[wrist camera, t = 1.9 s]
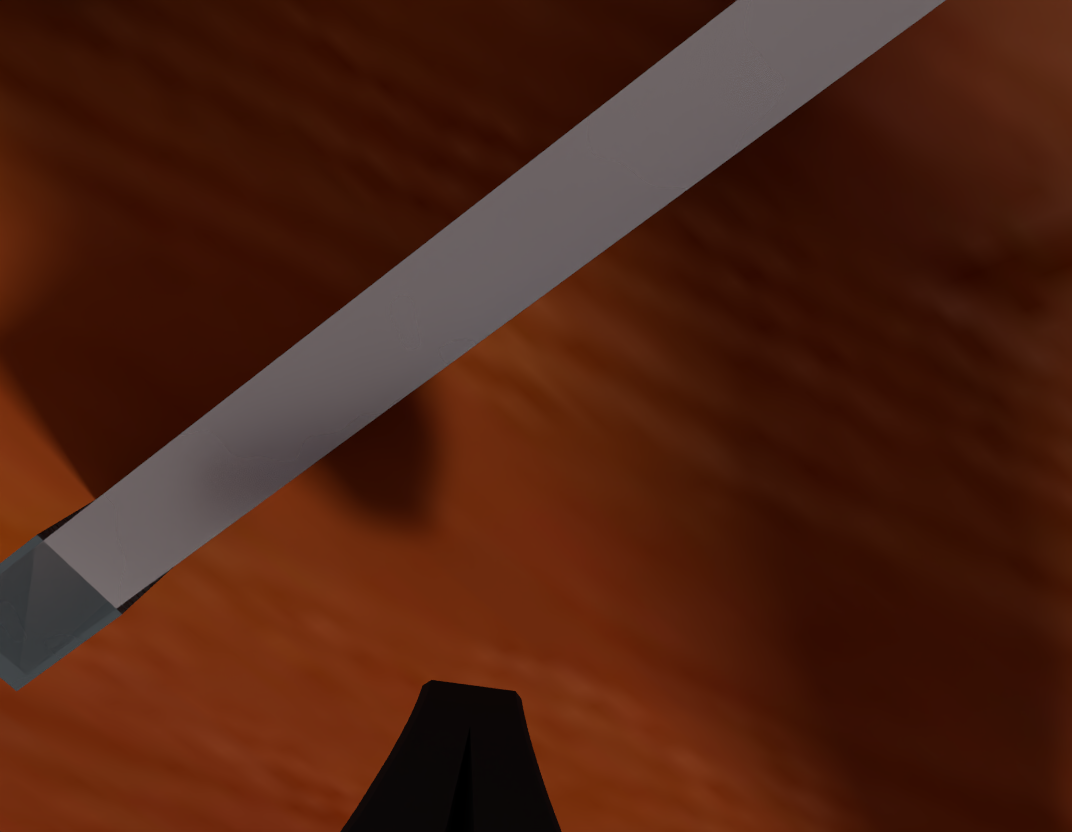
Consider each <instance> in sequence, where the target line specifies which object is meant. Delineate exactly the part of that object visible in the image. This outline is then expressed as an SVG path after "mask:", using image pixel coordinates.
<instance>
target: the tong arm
mask: <svg viewBox="0 0 1072 832" xmlns="http://www.w3.org/2000/svg"><path fill="white" fill-rule="evenodd" d="M944 1H945V0H737V1H736V2H734V3H733V4H732V5H730V6H729V7H728V8H727V9H725V10H724V11H723V12H721V13H720V14H719V15H718V16H716V17H715V18H714V19H712V20H711V21H710V22H709V23H707V24H706V25H705V26H704V27H702V28H701V29H700V30H698V31H697V32H696V33H695V34H693V35H692V36H691V37H689V38H688V39H687V40H686V41H684V42H683V43H682V44H680V45H679V46H678V47H677V48H675V49H674V50H673V51H671V52H670V53H669V54H668V55H666V56H665V57H664V58H662V59H661V60H660V61H659V62H657V63H656V64H655V65H653V66H652V67H651V68H650V69H648V70H647V71H646V72H644V73H643V74H642V75H641V76H639V77H638V78H637V79H635V80H634V81H633V82H632V83H630V84H629V85H628V86H626V87H625V88H624V89H623V90H621V91H620V92H619V93H617V94H616V95H615V96H614V97H612V98H611V99H610V100H608V101H607V102H606V103H605V104H603V105H602V106H601V107H600V108H598V109H597V110H596V111H594V112H593V113H592V114H591V115H589V116H588V117H587V118H585V119H584V120H583V121H582V122H580V123H579V124H578V125H576V126H575V127H574V128H573V129H571V130H570V131H569V132H567V133H566V134H565V135H564V136H562V137H561V138H560V139H558V140H557V141H556V142H555V143H553V144H552V145H551V146H549V147H548V148H547V149H546V150H544V151H543V152H542V153H540V154H539V155H538V156H537V157H535V158H534V159H533V160H531V161H530V162H529V163H528V164H526V165H525V166H524V167H522V168H521V169H520V170H519V171H517V172H516V173H515V174H513V175H512V176H511V177H510V178H508V179H507V180H506V181H505V182H503V183H502V184H501V185H499V186H498V187H497V188H496V189H494V190H493V191H492V192H490V193H489V194H488V195H487V196H485V197H484V198H483V199H481V200H480V201H479V202H478V203H476V204H475V205H474V206H472V207H471V208H470V209H469V210H467V211H466V212H465V213H463V214H462V215H461V216H460V217H458V218H457V219H456V220H454V221H453V222H452V223H451V224H449V225H448V226H447V227H445V228H444V229H443V230H442V231H440V232H439V233H438V234H436V235H435V236H434V237H433V238H431V239H430V240H429V241H427V242H426V243H425V244H424V245H422V246H421V247H420V248H418V249H417V250H416V251H415V252H413V253H412V254H411V255H409V256H408V257H407V258H406V259H404V260H403V261H402V262H401V263H399V264H398V265H397V266H395V267H394V268H393V269H392V270H390V271H389V272H388V273H386V274H385V275H384V276H383V277H381V278H380V279H379V280H377V281H376V282H375V283H374V284H372V285H371V286H370V287H368V288H367V289H366V290H365V291H363V292H362V293H361V294H359V295H358V296H357V297H356V298H354V299H353V300H352V301H350V302H349V303H348V304H347V305H345V306H344V307H343V308H341V309H340V310H339V311H338V312H336V313H335V314H334V315H332V316H331V317H330V318H329V319H327V320H326V321H325V322H323V323H322V324H321V325H320V326H318V327H317V328H316V329H314V330H313V331H312V332H311V333H309V334H308V335H307V336H305V337H304V338H303V339H302V340H300V341H299V342H298V343H297V344H295V345H294V346H293V347H291V348H290V349H289V350H288V351H286V352H285V353H284V354H282V355H281V356H280V357H279V358H277V359H276V360H275V361H273V362H272V363H271V364H270V365H268V366H267V367H266V368H264V369H263V370H262V371H261V372H259V373H258V374H257V375H255V376H254V377H253V378H252V379H250V380H249V381H248V382H246V383H245V384H244V385H243V386H241V387H240V388H239V389H237V390H236V391H235V392H234V393H232V394H231V395H230V396H228V397H227V398H226V399H225V400H223V401H222V402H221V403H219V404H218V405H217V406H216V407H214V408H213V409H212V410H210V411H209V412H208V413H207V414H205V415H204V416H203V417H202V418H200V419H199V420H198V421H196V422H195V423H194V424H193V425H191V426H190V427H189V428H187V429H186V430H185V431H184V432H182V433H181V434H180V435H178V436H177V437H176V438H175V439H173V440H172V441H171V442H169V443H168V444H167V445H166V446H164V447H163V448H162V449H160V450H159V451H158V452H157V453H155V454H154V455H153V456H151V457H150V458H149V459H148V460H146V461H145V462H144V463H142V464H141V465H140V466H139V467H137V468H136V469H135V470H133V471H132V472H131V473H130V474H128V475H127V476H126V477H124V478H123V479H122V480H121V481H119V482H118V483H117V484H115V485H114V486H113V487H112V488H110V489H109V490H108V491H106V492H105V493H104V494H103V495H101V496H100V497H99V498H98V499H96V500H94V501H93V502H91V503H89V504H88V505H86V506H84V507H83V508H81V509H79V510H78V511H76V512H74V513H73V514H71V515H69V516H68V517H66V518H64V519H63V520H61V521H59V522H58V523H56V524H54V525H53V526H51V527H49V528H48V529H46V530H44V531H43V532H41V533H39V534H37V535H36V536H35V537H34V538H32V539H31V540H30V541H28V542H27V543H26V544H25V545H23V546H22V547H21V548H20V549H18V550H17V551H16V552H14V553H13V554H12V555H11V556H9V557H8V558H7V559H5V560H4V561H3V562H2V563H0V677H1V678H2V679H3V680H4V681H5V682H6V683H8V684H9V685H10V686H11V687H12V688H14V689H15V690H16V691H17V690H19V689H20V688H22V687H23V686H24V685H26V684H27V683H28V682H30V681H31V680H33V679H34V678H35V677H37V676H38V675H39V674H41V673H42V672H43V671H45V670H46V669H48V668H49V667H50V666H52V665H53V664H54V663H56V662H57V661H59V660H60V659H61V658H63V657H64V656H65V655H67V654H68V653H69V652H71V651H72V650H74V649H75V648H76V647H78V646H79V645H80V644H82V643H83V642H85V641H86V640H87V639H89V638H90V637H91V636H93V635H94V634H96V633H97V632H98V631H100V630H101V629H102V628H104V627H105V626H106V625H108V624H109V623H111V622H112V621H113V620H115V619H116V618H117V617H119V616H120V615H122V614H123V613H124V612H125V611H126V610H127V609H128V608H129V607H130V606H131V605H133V604H134V603H135V602H136V601H137V600H138V599H139V598H140V597H141V596H142V595H143V594H144V593H146V592H147V591H148V590H149V589H150V588H151V587H152V586H153V585H154V584H155V583H156V582H157V581H159V580H160V579H161V578H162V577H163V576H164V575H165V574H166V573H167V572H168V571H169V570H171V569H172V568H173V567H174V566H175V565H176V564H178V563H179V562H181V561H182V560H183V559H185V558H186V557H187V556H189V555H190V554H191V553H193V552H194V551H196V550H197V549H198V548H200V547H201V546H202V545H204V544H205V543H206V542H208V541H209V540H211V539H212V538H213V537H215V536H216V535H217V534H219V533H220V532H221V531H223V530H224V529H225V528H227V527H228V526H230V525H231V524H232V523H234V522H235V521H236V520H238V519H239V518H240V517H242V516H243V515H245V514H246V513H247V512H249V511H250V510H251V509H253V508H254V507H255V506H257V505H258V504H260V503H261V502H262V501H264V500H265V499H266V498H268V497H269V496H270V495H272V494H273V493H275V492H276V491H277V490H279V489H280V488H281V487H283V486H284V485H285V484H287V483H288V482H290V481H291V480H292V479H294V478H295V477H296V476H298V475H299V474H300V473H302V472H303V471H305V470H306V469H307V468H309V467H310V466H311V465H313V464H314V463H315V462H317V461H318V460H320V459H321V458H322V457H324V456H325V455H326V454H328V453H329V452H330V451H332V450H333V449H335V448H336V447H337V446H339V445H340V444H341V443H343V442H344V441H345V440H347V439H348V438H350V437H351V436H352V435H354V434H355V433H356V432H358V431H359V430H360V429H362V428H363V427H365V426H366V425H367V424H369V423H370V422H371V421H373V420H374V419H375V418H377V417H378V416H380V415H381V414H382V413H384V412H385V411H386V410H388V409H389V408H390V407H392V406H393V405H395V404H396V403H397V402H399V401H400V400H401V399H403V398H404V397H405V396H407V395H408V394H409V393H411V392H412V391H414V390H415V389H416V388H418V387H419V386H420V385H422V384H423V383H424V382H426V381H427V380H429V379H430V378H431V377H433V376H434V375H435V374H437V373H438V372H439V371H441V370H442V369H444V368H445V367H446V366H448V365H449V364H450V363H452V362H453V361H454V360H456V359H457V358H459V357H460V356H461V355H463V354H464V353H465V352H467V351H468V350H469V349H471V348H472V347H474V346H475V345H476V344H478V343H479V342H480V341H482V340H483V339H484V338H486V337H487V336H489V335H490V334H491V333H493V332H494V331H495V330H497V329H498V328H499V327H501V326H502V325H504V324H505V323H506V322H508V321H509V320H510V319H512V318H513V317H514V316H516V315H517V314H519V313H520V312H521V311H523V310H524V309H525V308H527V307H528V306H529V305H531V304H532V303H534V302H535V301H536V300H538V299H539V298H540V297H542V296H543V295H544V294H546V293H547V292H549V291H550V290H551V289H553V288H554V287H555V286H557V285H558V284H559V283H561V282H562V281H564V280H565V279H566V278H568V277H569V276H570V275H572V274H573V273H574V272H576V271H577V270H579V269H580V268H581V267H583V266H584V265H585V264H587V263H588V262H589V261H591V260H592V259H593V258H595V257H596V256H598V255H599V254H600V253H602V252H603V251H604V250H606V249H607V248H608V247H610V246H611V245H613V244H614V243H615V242H617V241H618V240H619V239H621V238H622V237H623V236H625V235H626V234H628V233H629V232H630V231H632V230H633V229H634V228H636V227H637V226H638V225H640V224H641V223H643V222H644V221H645V220H647V219H648V218H649V217H651V216H652V215H653V214H655V213H656V212H658V211H659V210H660V209H662V208H663V207H664V206H666V205H667V204H668V203H670V202H671V201H673V200H674V199H675V198H677V197H678V196H679V195H681V194H682V193H683V192H685V191H686V190H688V189H689V188H690V187H692V186H693V185H694V184H696V183H697V182H698V181H700V180H701V179H703V178H704V177H705V176H707V175H708V174H709V173H711V172H712V171H713V170H715V169H716V168H718V167H719V166H720V165H722V164H723V163H724V162H726V161H727V160H728V159H730V158H731V157H733V156H734V155H735V154H737V153H738V152H739V151H741V150H742V149H743V148H745V147H746V146H748V145H749V144H750V143H752V142H753V141H754V140H756V139H757V138H758V137H760V136H761V135H762V134H764V133H765V132H767V131H768V130H769V129H771V128H772V127H773V126H775V125H776V124H777V123H779V122H780V121H782V120H783V119H784V118H786V117H787V116H788V115H790V114H791V113H792V112H794V111H795V110H797V109H798V108H799V107H801V106H802V105H803V104H805V103H806V102H807V101H809V100H810V99H812V98H813V97H814V96H816V95H817V94H818V93H820V92H821V91H822V90H824V89H825V88H827V87H828V86H829V85H831V84H832V83H833V82H835V81H836V80H837V79H839V78H840V77H842V76H843V75H844V74H846V73H847V72H848V71H850V70H851V69H852V68H854V67H855V66H857V65H858V64H859V63H861V62H862V61H863V60H865V59H866V58H867V57H869V56H870V55H872V54H873V53H874V52H876V51H877V50H878V49H880V48H881V47H882V46H884V45H885V44H887V43H888V42H889V41H891V40H892V39H893V38H895V37H896V36H897V35H899V34H900V33H902V32H903V31H904V30H906V29H907V28H908V27H910V26H911V25H912V24H914V23H915V22H917V21H918V20H919V19H921V18H922V17H923V16H925V15H926V14H927V13H929V12H930V11H932V10H933V9H934V8H936V7H937V6H938V5H940V4H941V3H942V2H944Z"/></svg>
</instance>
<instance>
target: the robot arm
mask: <svg viewBox="0 0 1072 832" xmlns="http://www.w3.org/2000/svg"><path fill="white" fill-rule="evenodd" d="M340 832H561V829H560V826H559V824H558V821H557V818H556V816H555V813H554V810H553V808H552V805H551V802H550V799H549V797H548V794H547V791H546V788H545V785H544V782H543V779H542V776H541V773H540V770H539V766H538V763H537V760H536V757H535V753H534V750H533V747H532V743H531V740H530V736H529V732H528V728H527V724H526V720H525V715H524V711H523V706H522V700H521V698H520V697H519V695H518V694H517V693H516V691H510V690H503V689H495V688H488V687H480V686H473V685H465V684H458V683H450V682H443V681H435V680H431V681H429V682H428V683H426V684H424V685H423V686H422V689H421V692H420V694H419V697H418V700H417V702H416V704H415V707H414V709H413V711H412V713H411V715H410V717H409V720H408V722H407V724H406V725H405V727H404V729H403V731H402V733H401V735H400V737H399V739H398V740H397V742H396V744H395V746H394V748H393V749H392V751H391V753H390V755H389V756H388V758H387V760H386V761H385V763H384V765H383V766H382V768H381V770H380V771H379V773H378V774H377V776H376V778H375V779H374V781H373V782H372V784H371V786H370V787H369V789H368V791H367V792H366V794H365V795H364V797H363V799H362V800H361V802H360V803H359V805H358V806H357V808H356V810H355V811H354V813H353V814H352V816H351V817H350V819H349V820H348V821H347V823H346V824H345V826H344V827H343V829H342V830H341V831H340Z"/></svg>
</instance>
